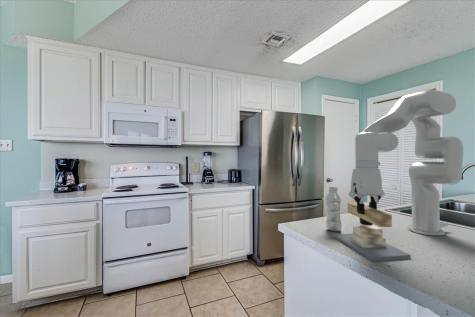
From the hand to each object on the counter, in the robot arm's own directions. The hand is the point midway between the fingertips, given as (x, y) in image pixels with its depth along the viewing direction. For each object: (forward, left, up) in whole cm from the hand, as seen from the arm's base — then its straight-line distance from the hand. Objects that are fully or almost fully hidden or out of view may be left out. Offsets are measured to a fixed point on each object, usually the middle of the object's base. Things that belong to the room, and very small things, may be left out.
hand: (366, 212), depth 83 cm
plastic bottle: (+2, -19, -13) cm, 23 cm away
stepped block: (0, 0, -12) cm, 12 cm away
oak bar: (0, 0, -2) cm, 2 cm away
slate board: (0, 0, -13) cm, 13 cm away
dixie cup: (-18, -23, -13) cm, 32 cm away
